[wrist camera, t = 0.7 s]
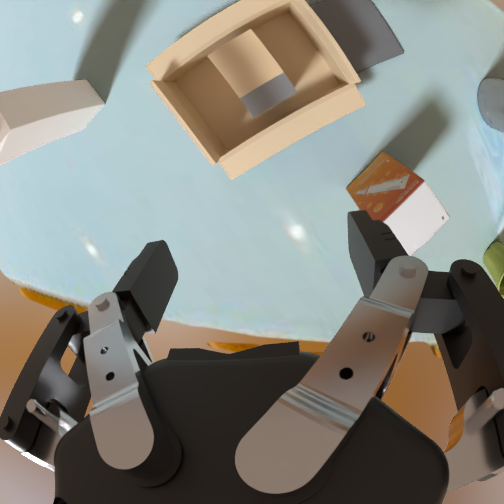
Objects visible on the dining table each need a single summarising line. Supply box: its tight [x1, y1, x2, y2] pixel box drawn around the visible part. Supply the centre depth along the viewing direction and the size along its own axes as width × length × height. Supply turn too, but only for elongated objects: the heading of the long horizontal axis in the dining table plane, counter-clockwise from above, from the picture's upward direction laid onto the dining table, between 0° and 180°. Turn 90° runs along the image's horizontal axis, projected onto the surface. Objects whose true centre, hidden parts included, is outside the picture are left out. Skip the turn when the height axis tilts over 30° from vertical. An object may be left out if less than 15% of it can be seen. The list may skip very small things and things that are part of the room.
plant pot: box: [484, 242, 504, 297], centre depth 37 cm, size 9×9×9 cm
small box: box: [346, 151, 450, 256], centre depth 31 cm, size 8×6×13 cm
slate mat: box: [310, 0, 404, 73], centre depth 24 cm, size 9×11×1 cm
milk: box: [0, 80, 105, 166], centre depth 22 cm, size 6×6×22 cm
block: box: [208, 29, 297, 118], centre depth 26 cm, size 5×8×9 cm, turn 34°
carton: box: [145, 0, 366, 180], centre depth 26 cm, size 19×18×8 cm
